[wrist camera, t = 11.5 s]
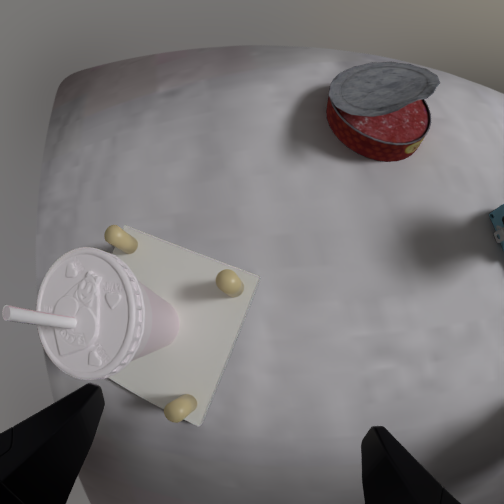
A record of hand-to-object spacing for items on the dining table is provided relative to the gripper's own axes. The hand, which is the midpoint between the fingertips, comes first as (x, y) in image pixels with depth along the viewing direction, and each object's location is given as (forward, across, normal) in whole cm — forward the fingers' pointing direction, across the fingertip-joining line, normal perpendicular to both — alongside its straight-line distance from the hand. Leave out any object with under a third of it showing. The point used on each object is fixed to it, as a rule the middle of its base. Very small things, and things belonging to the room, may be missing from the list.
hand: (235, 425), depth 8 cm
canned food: (+23, -9, -13) cm, 28 cm away
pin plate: (+13, +6, +6) cm, 16 cm away
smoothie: (+12, +6, +5) cm, 15 cm away
